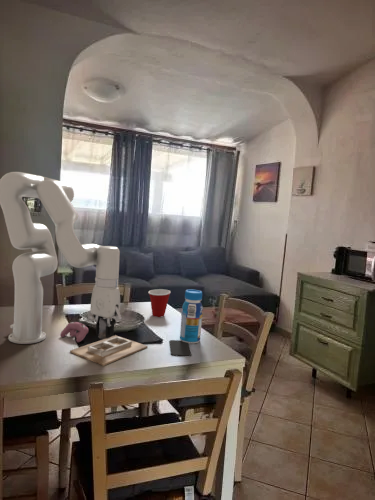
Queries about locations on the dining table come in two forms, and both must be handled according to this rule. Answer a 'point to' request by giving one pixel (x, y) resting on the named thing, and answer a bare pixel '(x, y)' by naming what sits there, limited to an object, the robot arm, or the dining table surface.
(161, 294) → the plastic cup
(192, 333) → the beverage bottle
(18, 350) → the dining table surface
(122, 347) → the tray
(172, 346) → the phone
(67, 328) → the video game controller
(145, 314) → the dining table surface
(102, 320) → the cylinder
